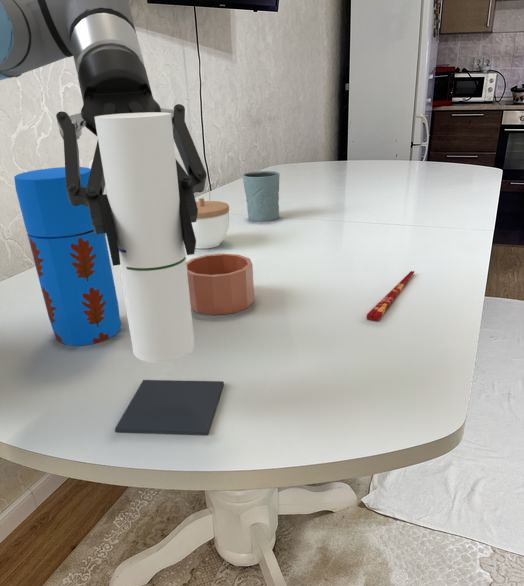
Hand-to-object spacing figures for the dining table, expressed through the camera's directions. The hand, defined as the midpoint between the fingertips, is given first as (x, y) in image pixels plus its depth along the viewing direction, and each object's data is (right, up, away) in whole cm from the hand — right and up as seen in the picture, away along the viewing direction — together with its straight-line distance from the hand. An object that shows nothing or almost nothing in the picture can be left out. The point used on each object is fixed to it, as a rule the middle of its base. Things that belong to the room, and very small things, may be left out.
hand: (154, 253), depth 53 cm
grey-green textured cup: (+11, +28, +96) cm, 100 cm away
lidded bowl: (-3, +16, +75) cm, 76 cm away
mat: (0, -17, +13) cm, 21 cm away
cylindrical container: (-1, -10, +9) cm, 13 cm away
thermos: (-18, -7, +34) cm, 39 cm away
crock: (+3, -1, +42) cm, 43 cm away
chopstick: (+35, 0, +42) cm, 54 cm away
